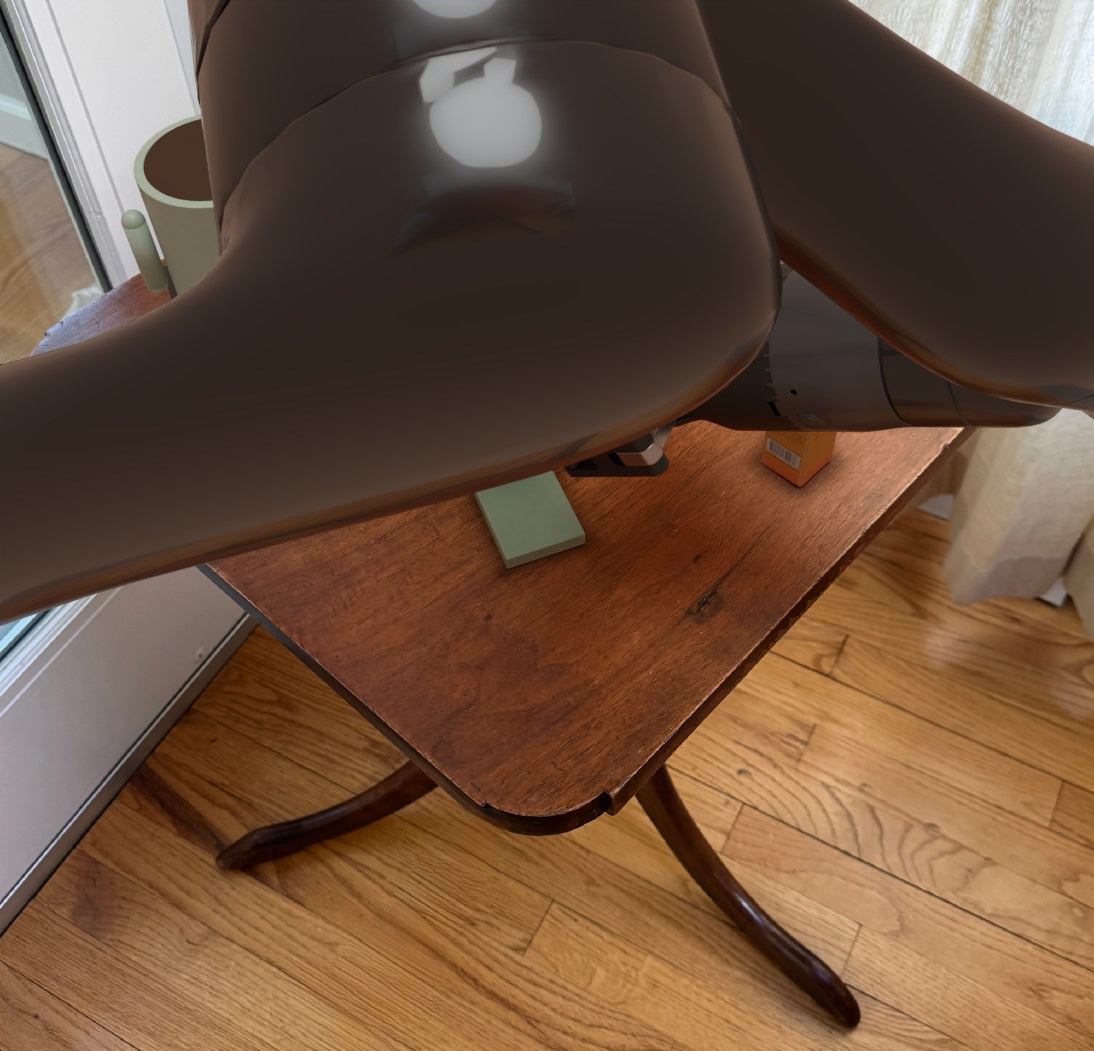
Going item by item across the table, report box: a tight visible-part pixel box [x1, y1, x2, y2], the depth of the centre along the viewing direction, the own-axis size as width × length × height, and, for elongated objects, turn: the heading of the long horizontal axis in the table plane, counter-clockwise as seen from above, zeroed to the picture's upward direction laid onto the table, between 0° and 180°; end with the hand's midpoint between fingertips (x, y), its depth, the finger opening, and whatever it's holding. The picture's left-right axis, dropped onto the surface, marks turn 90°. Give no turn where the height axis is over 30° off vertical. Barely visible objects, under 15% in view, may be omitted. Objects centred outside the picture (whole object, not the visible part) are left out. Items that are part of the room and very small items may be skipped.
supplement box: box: [761, 431, 838, 488], centre depth 67 cm, size 3×3×10 cm
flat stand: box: [473, 470, 586, 570], centre depth 59 cm, size 5×12×30 cm, turn 21°
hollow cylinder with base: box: [120, 113, 220, 300], centre depth 65 cm, size 10×9×21 cm
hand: (553, 358), depth 61 cm, fingers open, 8 cm apart
